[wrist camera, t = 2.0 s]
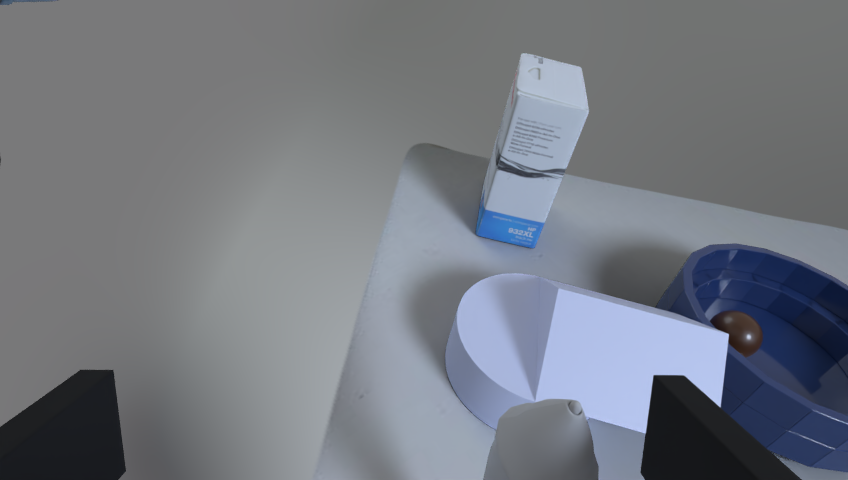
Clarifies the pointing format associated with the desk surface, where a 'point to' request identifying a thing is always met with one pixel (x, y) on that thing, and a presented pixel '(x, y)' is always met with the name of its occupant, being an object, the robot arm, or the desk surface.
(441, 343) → the desk surface
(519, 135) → the ink box
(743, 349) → the ball
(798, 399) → the bowl
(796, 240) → the desk surface
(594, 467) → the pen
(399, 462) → the desk surface
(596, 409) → the wedge on round base
